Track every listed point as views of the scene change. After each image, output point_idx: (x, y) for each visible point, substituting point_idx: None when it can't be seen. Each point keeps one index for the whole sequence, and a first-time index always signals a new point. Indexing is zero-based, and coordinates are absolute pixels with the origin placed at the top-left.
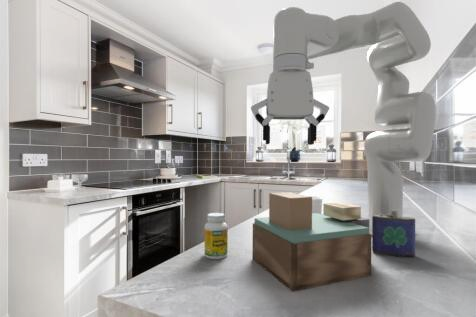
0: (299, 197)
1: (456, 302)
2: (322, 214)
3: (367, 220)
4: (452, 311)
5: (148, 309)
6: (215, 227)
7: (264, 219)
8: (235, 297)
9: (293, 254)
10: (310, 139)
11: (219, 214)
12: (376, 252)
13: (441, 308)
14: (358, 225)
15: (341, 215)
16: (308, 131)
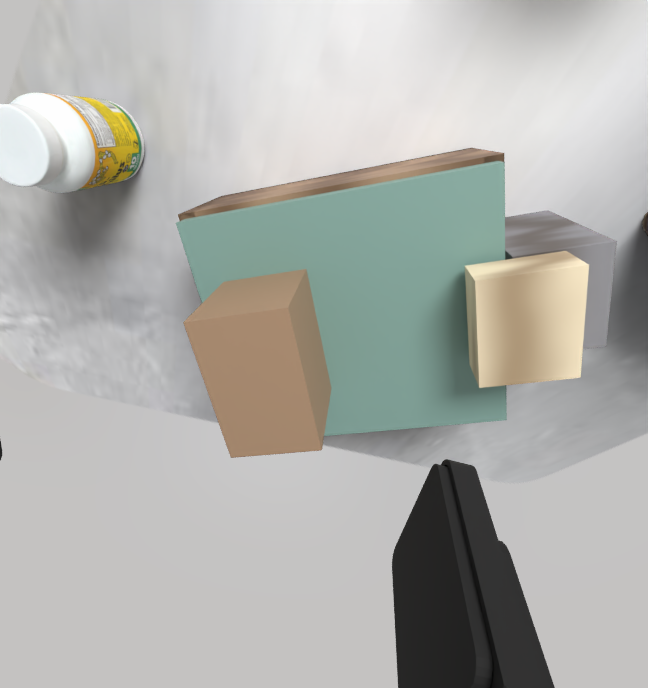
0: (269, 451)
1: (533, 465)
2: (503, 200)
3: (593, 346)
4: (495, 479)
5: (35, 377)
6: (48, 189)
7: (211, 251)
8: (167, 374)
9: None
10: (396, 586)
11: (26, 149)
12: (645, 230)
13: (487, 470)
14: (498, 392)
15: (472, 368)
16: (445, 631)
